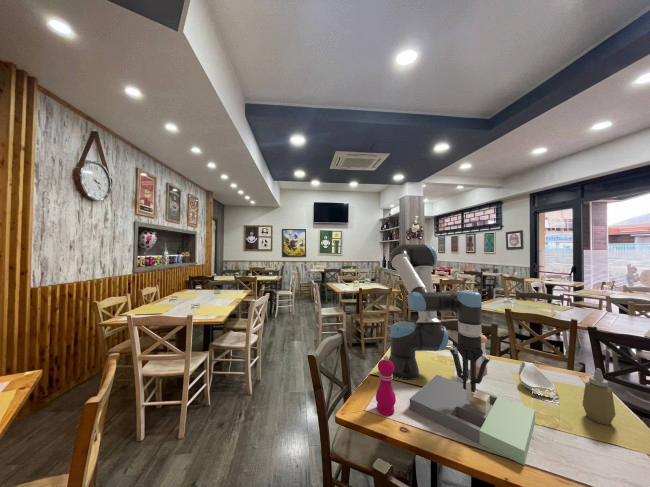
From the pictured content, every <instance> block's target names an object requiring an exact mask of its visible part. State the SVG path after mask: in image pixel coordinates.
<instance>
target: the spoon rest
mask: <svg viewBox="0 0 650 487" xmlns="http://www.w3.org/2000/svg"><path fill="white" fill-rule="evenodd" d="M519 372H520V375H519V379H520V382H521V383H522V385H523V386H524V387H525V388H527V390H529V391H531V389H532V388H533V387H542V388H547V389H550V390H552V391H553V392H555V390H556V386H555V384H554V382H552V381H551V380H550V379H549V378H548V377H547V376H546V375H545V374H544V373H543V372H542V371H541V370H540V369H539V368H538V367H537V366H536V365H535V364H534V363H532V362H527V361H523V362H521V364H520V365H519Z"/></svg>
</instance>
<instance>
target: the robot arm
mask: <svg viewBox="0 0 650 487" xmlns="http://www.w3.org/2000/svg"><path fill="white" fill-rule="evenodd" d="M389 260H390V264H391V266H392V268H393V269H395V270H396V272H397V273H398V275H399V277H400V279H401V280H402V284H403V285H404V287H405V288H406V290H407V292H408V295H407V300H406V301H407V304H408V306H407V307H408V308H409V309H410V310H411V311H413V312H418V319H417V320H416V321H415V322H416V323H414V322H411V321H398V322H394V323H393V324H392V325H391V328H390V334H389V335H390V350H389V351H390V354H389V356H388V358H389V359H388V360H390V361H391V362H392V363H393V365H394V372H393V373H392V374H393V377H394V376H395V377H394V378H397V377H398V378H397V379H400V378H402V379H401V380H415V379H417V378H419V375H420V368H419V365H418V362H417V358H416V352H440V351H444V350H445V349H446V348H447V346H448V344H449V332H448V330H447V328H446V326H444V325H442V321H441V320H440V319H439V318H438V315H437V312H453V313H456V314H457V332H458V333H457V345H456V347H452V348H451V349H450V350H449V352H450V354H451V355H452V357H453V363H454V366H455V372H456V375H457V377H458V378H459V379H462V384H463V388H464V389H465V390H466V400H467V401H470V394H471V393H472V392H475V391H476V389H477V384H478V385H480V384H481V382H482V381H483V378H484V376H485V375H484V372H485V368H486V365H487V366H488V363H489V362H490V361H491V358H490V357H489V356H487V355H486V356H485V355H484V354H483V351H482V349H481V336H480V335H481V334H482V313H483V312H482V308H483V307H482V305H483V302H482V295H481V293H480V292H477V291H472V290H459V291H458V292H455V291H450V290H446V291H444V292H443V291H441V292H439V291H438V292H435V290H434V284H433V277H432V276H433V274H432V271H433V270H434V266H436V265H437V261H438V254H437V251H436V249H435V247H433V246H432V245H431V244H424V243H422V244H420V243H419V244H415V243H414V244H407V243H402V244H399V245H397V246H395V248H393V250H392V251H391V253H390V257H389ZM459 355H460V356H461V357H462V358H461V359H462V360H460V356H459ZM480 357H481V358H482V359H481V361H482V364H481V366H480V370H479V373H478V374H476V362H477V360H478V359H479V358H480ZM461 361H462V362H461ZM461 363H462V365H461ZM469 369H470V370H469ZM469 371H470V376H469ZM416 377H417V378H416ZM414 378H415V379H414ZM469 378H470V379H469Z"/></svg>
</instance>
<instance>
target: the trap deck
mask: <svg viewBox="0 0 650 487" xmlns="http://www.w3.org/2000/svg"><path fill="white" fill-rule="evenodd" d="M476 391H479V392H482V393H484V394H487V395H490V408H489V410H488V412H487V413H486V414H484V413H482V412H479V411H477V410H474V409H472V408H470V401H467V400H466V390H465V389H464V388H463V383H461V382H458V381H456V380H452V379H450V378H447V377H444V376H441V375H438V374H436V375H435V376H434V377H432V379H430V380H429V381H427V383H425V385H423V386H422V387H421V388H420V389H419V390H418V391H416V392H415V393H414V394H413V395H412V396H410V398H409V410H410V411H412V412H414V413H416V414H418V415H421V416H422V417H424V418H426V419H428V420H431V421H433V422H435V423H437V424H439V425H440V426H443V427H445V428H447V429H449V430H451V431H452V432H455V433H457V434H460V435H461V436H463V437H465V438H468V439H469V440H471V441H473V442H476V443H477V444H479V445H481V446H484V447H485V448H488V449H489V450H492V451H494V452H495V453H498V454H500V455H502V456H504V457H506V458H509V459H510V460H513V461H514V462H516V463H519V464H521V465H522V466H525V464H526V462H527V456H528V453H529V448H530V444H531V439H532V437H533V432H534V428H535V423H536V409H534V408H531V407H528V406H525V405H523V404H520V403H517V402H513V401H511V400H509V399H505V398H503V397H501V396H497V395H494V394H491V393H489V392H486V391H484V390H481V389H478V388H476Z"/></svg>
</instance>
